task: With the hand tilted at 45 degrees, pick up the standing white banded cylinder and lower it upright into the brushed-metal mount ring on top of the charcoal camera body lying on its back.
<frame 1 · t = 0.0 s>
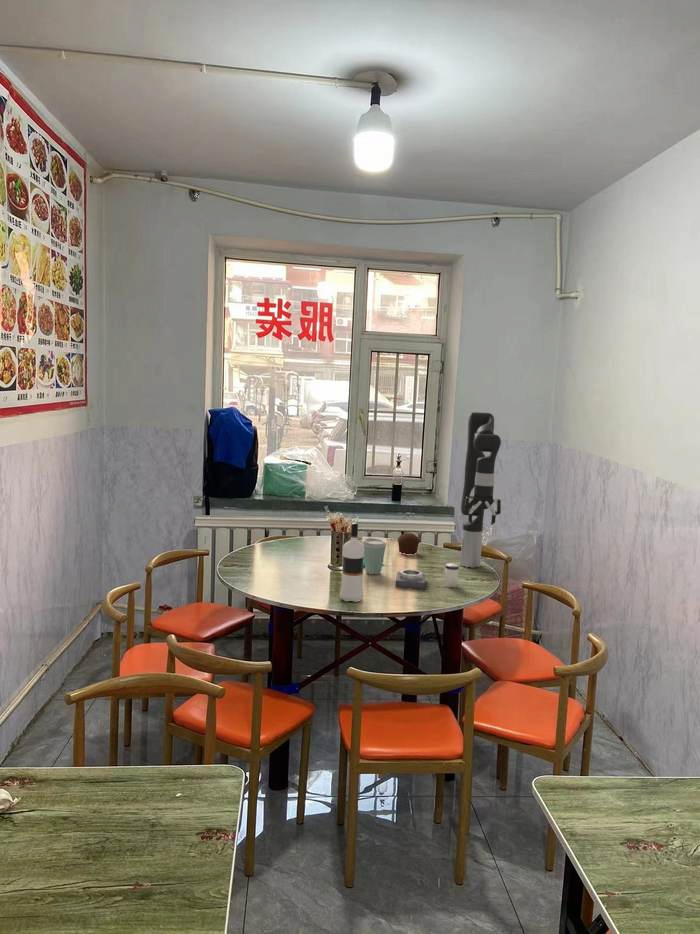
hand: (481, 523, 275), 29 cm above the table, tool pointing down, fingers open, 8 cm apart
camera mount: (369, 564, 317), on the table
white banded cylinder: (450, 585, 288), on the table
disposable coffee cup: (372, 573, 302), on the table
camera body: (410, 583, 288), on the table
muffin: (407, 553, 342), on the table
vodka: (351, 599, 264), on the table
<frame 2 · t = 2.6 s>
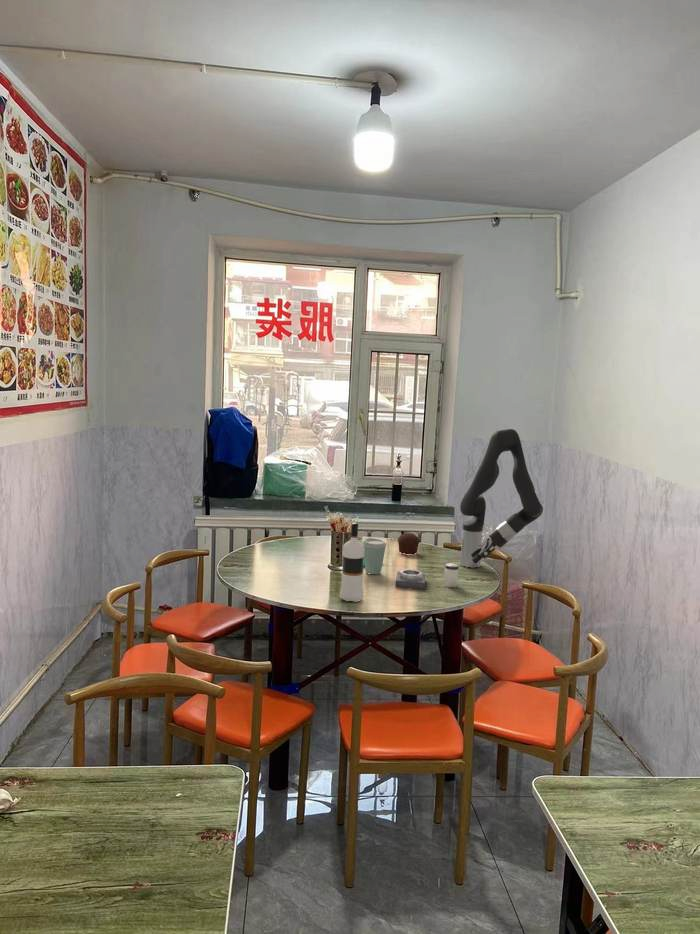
hand: (472, 559, 286), 12 cm above the table, tool tilted 45°, fingers open, 8 cm apart
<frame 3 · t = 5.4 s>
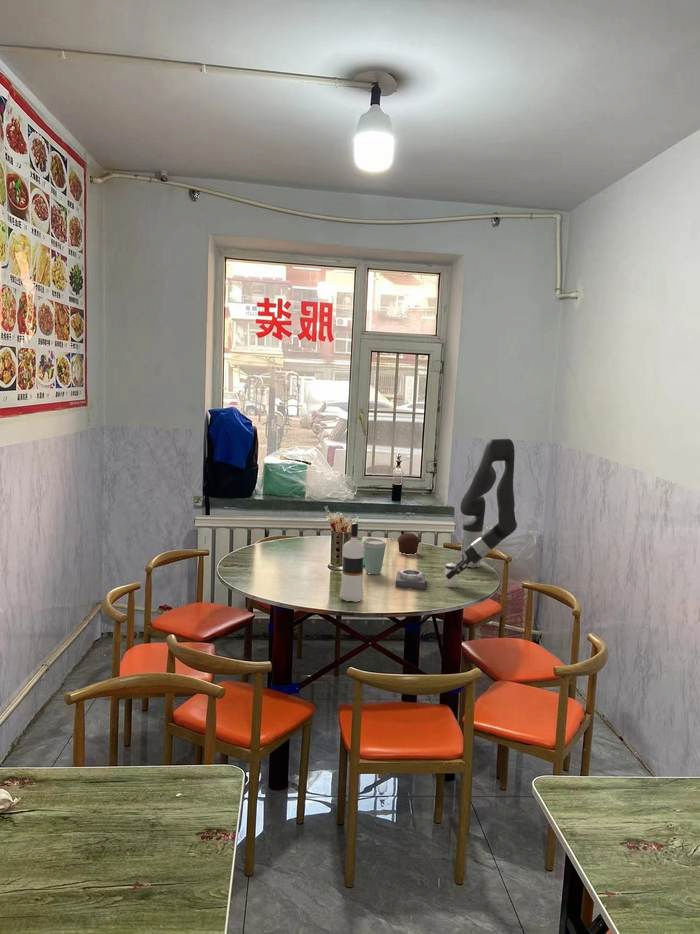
hand: (447, 575, 288), 4 cm above the table, tool tilted 45°, fingers closed on white banded cylinder, 5 cm apart
white banded cylinder: (450, 585, 288), on the table, touching gripper
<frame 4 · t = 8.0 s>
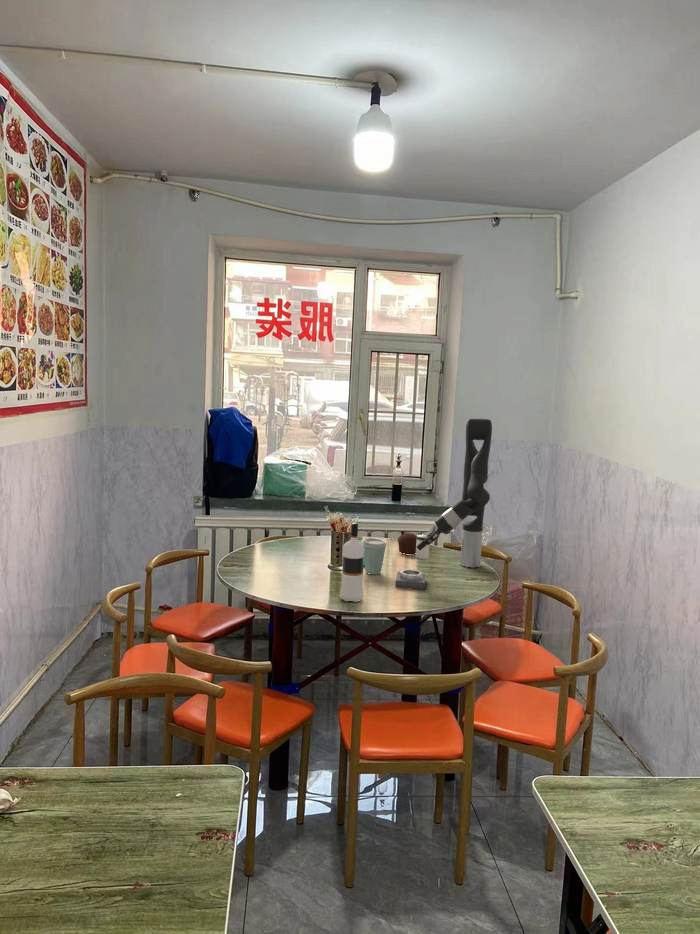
hand: (418, 546, 286), 16 cm above the table, tool tilted 45°, fingers closed on white banded cylinder, 5 cm apart
white banded cylinder: (422, 557, 286), point 12 cm above the table, touching gripper
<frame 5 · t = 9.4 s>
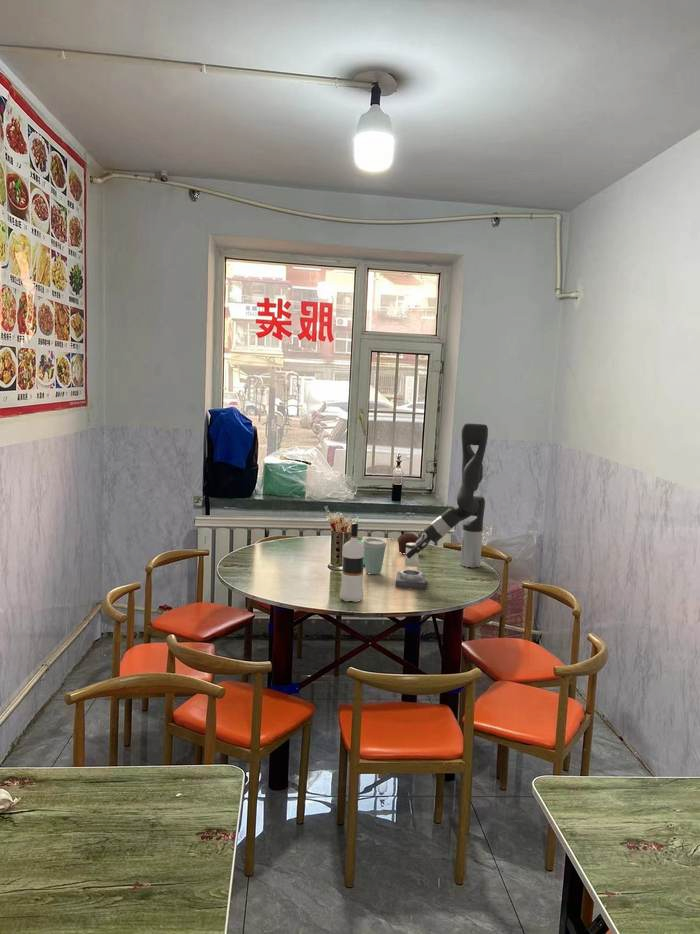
hand: (407, 554, 287), 12 cm above the table, tool tilted 45°, fingers closed on white banded cylinder, 5 cm apart
white banded cylinder: (411, 565, 287), point 8 cm above the table, touching gripper
when the fingers open (9 cm above the table, at t = 10.7 s): white banded cylinder drops 1 cm, resting on camera body.
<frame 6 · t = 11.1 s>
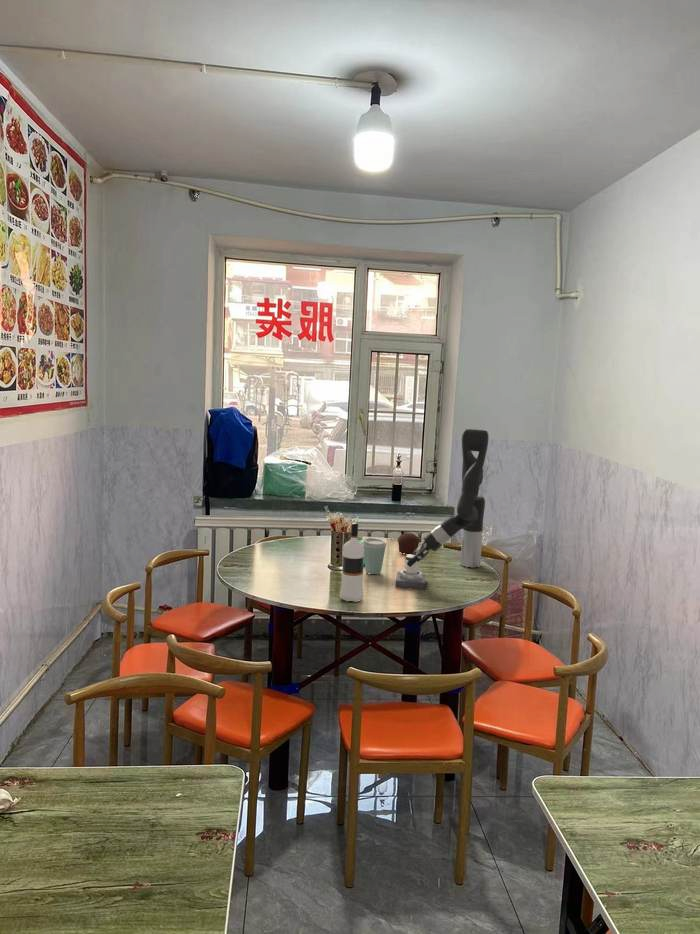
hand: (408, 562, 287), 9 cm above the table, tool tilted 45°, fingers open, 8 cm apart
white banded cylinder: (411, 577, 287), point 3 cm above the table, touching camera body
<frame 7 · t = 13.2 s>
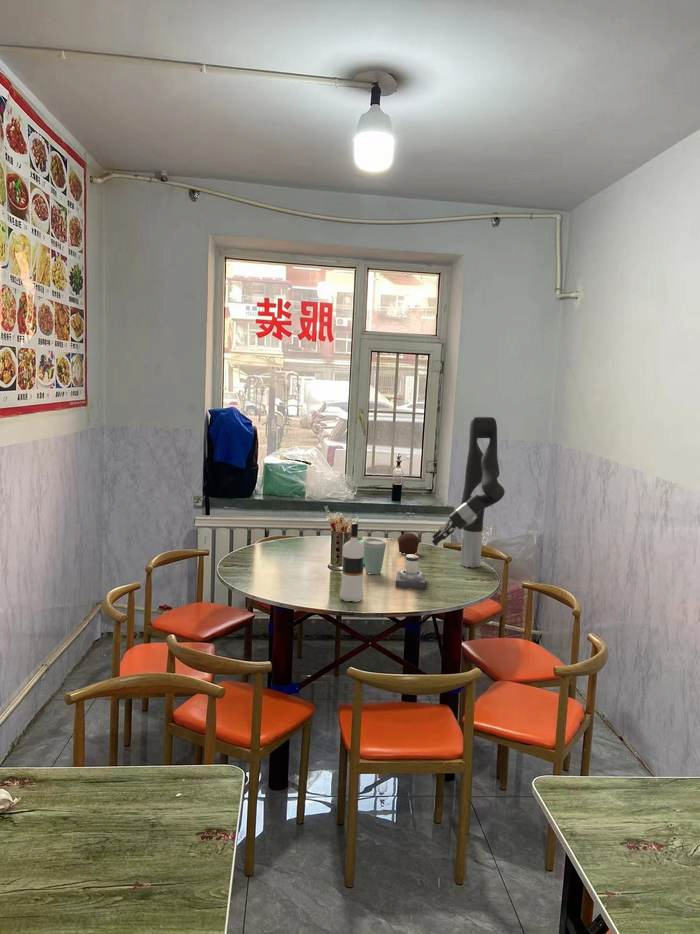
hand: (433, 540, 285), 19 cm above the table, tool tilted 45°, fingers open, 8 cm apart
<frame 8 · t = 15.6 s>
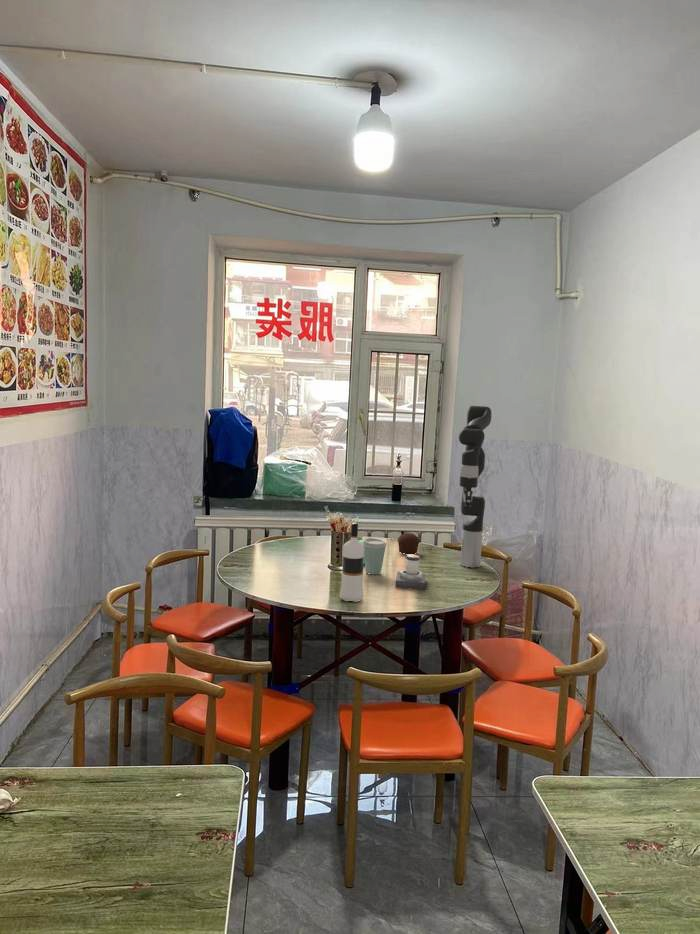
hand: (466, 513, 292), 30 cm above the table, tool pointing down, fingers open, 8 cm apart
at the end: white banded cylinder 0.4 cm off-centre on the camera body, point 3.1 cm above the camera body's base; white banded cylinder tilted 2°; the gripper is holding nothing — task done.
